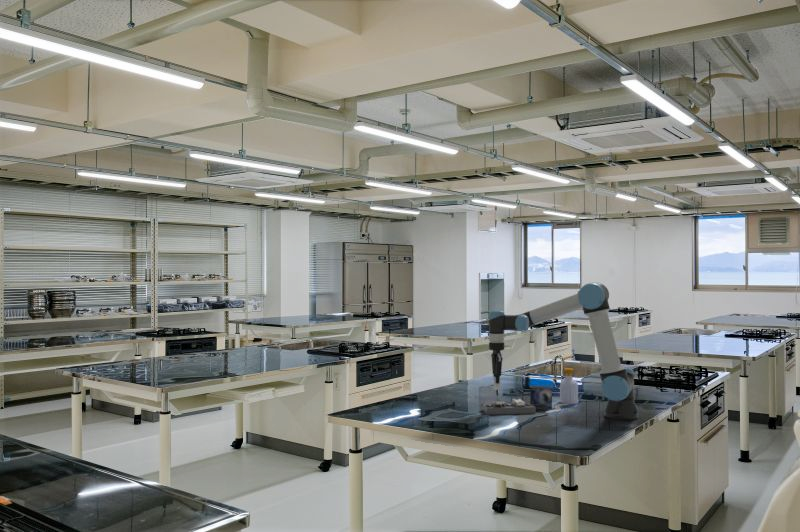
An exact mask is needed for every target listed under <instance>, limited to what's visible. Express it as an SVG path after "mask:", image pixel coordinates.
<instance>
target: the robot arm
mask: <svg viewBox="0 0 800 532" xmlns="http://www.w3.org/2000/svg"><path fill="white" fill-rule="evenodd" d="M609 298H610V293H609V289H608V288H607V286H605V284H603V283H600V282H589V283H586V284H584V285H582V287H580V288H579V290H578V291H577V293H575V294H572V295H569V296H567V297H564V298H561V299H559V300H556V301H553V302H551V303H549V304H548V303H547V304H545V305H543V306H540V307H537V308H535V309H532V310H528V311H526V312H523V313H519V314H512V315H511V314H510V315H509V314H505V311H504V310H490V311H489V313H488V349H489V350H490V351H492V353H491V355H490V356H491V368H492V370H491V371H492V375H493V390H495V391H499V390H501V377H502V369H503V368H502V367H503V366H502V364H503V357H502V353H501V351H505V337H506V335H505V331H516V332H527V331H528V329H529V328H530V327H533V326H536V325H539V324H541V323H545V322H547V321H550V320H553V319H556V318H559V317H562V316H565V315H567V314H570V313H574V312H576V311H580V310H582V311H583V315H584V316H585V317H587V318H588V320H589V324H590V328H591V332H592V336H593V340H594V344H595V347H596V351H597V355H598V359H599V363H600V368H601V370H600V371H599V375H600V377H601V378H600V380H601V387H600V388H601V389H600V390H601V393H602V394H603V395H604V397H606V398H607V401H606V405H605V408H604V410H603V411H604V415H603V416H604V417H606V418H608V419H611V418H613V419H612V420H617V419H634V420H637V419H639V412H638V409H637V408H638V407H637V405H636V403H635V380H634V379H635V374H634V373H635V372H634V370H633V369H632V368H626V367H625V366H624V365H622V363H621V360H620V356H619V352H618V351H619V350H618V349H617V344H616V341H615V336H614V333H613V329H612V326H611V322H610V321H611V320H610V318H609V314H608V313H609V312H610V309H611V307H610V304H609ZM636 418H637V419H636Z"/></svg>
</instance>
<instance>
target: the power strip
mask: <svg viewBox="0 0 800 532" xmlns="http://www.w3.org/2000/svg"><path fill="white" fill-rule="evenodd" d="M522 401H523V402H524V403H525V405H516V403H515V402H513V400H511V402H510V403H509V402H507V403H506V402H505V401H504V404H495V403H494V402H493V401H491V403H482V409H481V410H482V411H483V412H484V413H485V414H486V415H488V414H492V415H517V414H520V415H522V414H523V415H525V414H537V410H549V408H548V407H537V408H536V407H535V406H533V405H532V404H530V402H525V401H524V400H522Z"/></svg>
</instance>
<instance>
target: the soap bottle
mask: <svg viewBox="0 0 800 532" xmlns="http://www.w3.org/2000/svg"><path fill="white" fill-rule="evenodd" d="M572 357H573V356H572V355H568V356H565V357H563V358H562V368H563V370H564V371H565V372H566V373H565V378H564V379H563V380H561V381H560V383H559V402H560V403H561V404H565V405H577V404H578V403H579V384H578V382H577V381H576V380H574V379H573V374H572V373H571V372H572V371H574V368H572V367H570V368H569V367H568V368H566V367H565V360H568V359H570V358H572Z"/></svg>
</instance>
